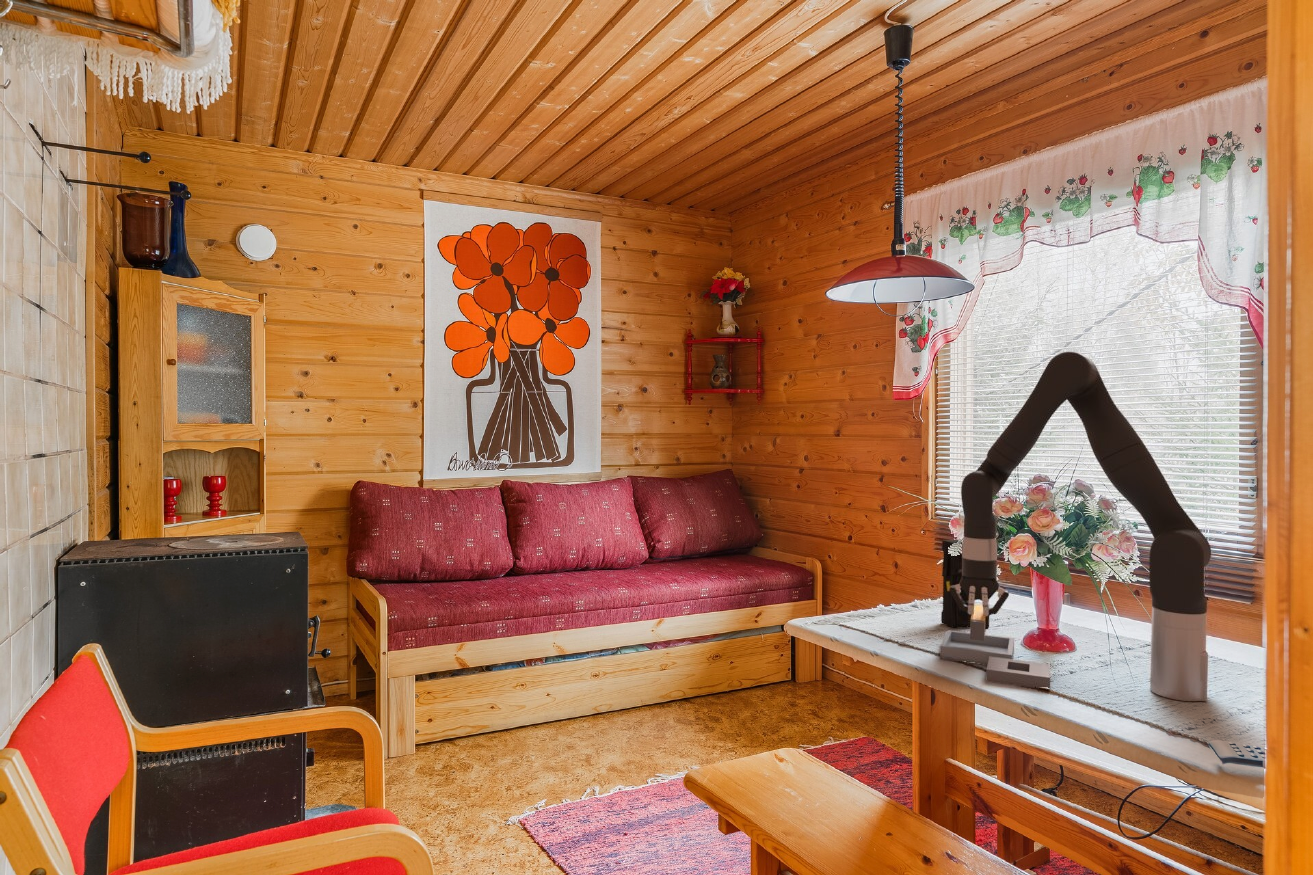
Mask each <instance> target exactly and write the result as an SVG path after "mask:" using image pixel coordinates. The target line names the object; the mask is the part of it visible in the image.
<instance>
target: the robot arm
mask: <svg viewBox="0 0 1313 875" xmlns="http://www.w3.org/2000/svg"><path fill="white" fill-rule="evenodd" d="M1066 401H1067V402H1068V403H1069V405H1070V406H1071V407H1072V409H1073V410H1074V411H1075V412H1076V414H1077V415H1078V417H1079V419H1080V420H1081V423H1082V424H1083V428H1084V431H1085V433H1086V436H1087V440H1088V441H1089V445H1090V447H1091V450H1092V453H1093V454H1094V457H1095V459H1096V461H1097V463H1098V464H1099V466H1100V467H1101V469H1102V470H1103V472H1104V474H1105V476H1106V478H1107V479H1108V480H1109V481H1110V483H1111V484H1112V485H1113V487H1114V488H1115V489H1116V490H1117V491H1118V493H1119V494H1120V495H1121V496H1122V497H1124V499H1125V500H1126V501H1127V502H1128V503H1129V504H1130V505H1132V507H1133V508H1134V509H1135V510H1136V511H1137V512H1138V514H1140V516H1141V517H1142V519H1143V520H1144V521H1145V524H1146V525H1147V527H1148V529H1149V532H1150V533H1151V534H1152V537H1153V539H1154V540H1153V541H1152V542H1151V545H1150V548H1149V560H1148V562H1149V563H1148V566H1149V569H1148V570H1149V571H1148V572H1149V574H1148V576H1149V592H1150V596H1151V629H1150V630H1151V632H1150V633H1151V635H1150V637H1151V638H1150V671H1149V673H1150V675H1149V676H1150V678H1149V683H1150V684H1149V686H1150V687H1149V689H1150V691H1151V692H1152V693H1154V694H1155V695H1158V696H1161V697H1163V698H1166V699H1167V698H1168V699H1171V700H1176V701H1182V702H1198V701H1199V702H1208V682H1209V681H1208V680H1209V678H1208V674H1209V673H1208V671H1209V654H1208V652H1207V621H1208V620H1207V616H1208V612H1207V611H1208V600H1207V597H1206V594H1205V568H1206V566H1208V564H1209V562H1210V561H1211V557H1212V548H1211V544H1210V543H1209V541H1208V539H1207V538H1206V537H1205V535H1204V534H1203V532H1202V531H1201V530H1200V528H1199V527H1198V526H1197V525H1196V524H1195V523H1194V521H1193V520H1192V519H1191V517H1190V516H1189V515H1188V514H1187V512H1186V511H1185V510H1184V508H1183V507H1182V505H1181V504H1180V503H1179V501H1178V500H1177V498H1176V497H1175V495H1174V493H1173V490H1172V488H1170V486H1169V483H1168V482H1167V480H1166V478H1165V476H1164V474H1163V473H1162V471H1161V469H1160V467H1159V466H1158V464H1157V463H1156V460H1155V459H1154V458H1153V455H1152V454H1151V452H1150V451H1149V449H1148V447H1147V446H1146V445H1145V443H1144V442H1143V440H1142V439H1141V437H1140V436H1139V434H1138V433H1137V431H1136V430H1135V429H1134V427H1133V426H1132V424H1131V423H1130V422H1129V420H1128V419H1127V418H1126V416H1124V414H1123V413H1122V412H1121V410H1120V409H1119V408H1118V407H1117V405H1116V403H1115V402H1114V400H1113V398H1112V397H1111V395H1110V392H1109V390H1108V389H1107V387H1106V385H1105V383H1104V380H1103V378H1102V377H1101V374H1100V371H1099V369H1098V367H1097V365H1096V364H1095V362H1094V361H1093V360H1092V359H1090V358H1089V357H1088V356H1086V355H1084V354H1081V353H1080V352H1078V351H1077V352H1076V351H1063V352H1060V353H1058V354H1056V355H1054V356H1053V357H1052V358H1051V359H1050V360H1049V362H1047V365H1046V366H1045V368H1044V370H1043V372H1042V374H1041V376H1040V377H1039V379H1038V381H1037V383H1036V385H1035V387H1034V388H1033V390H1032V391H1031V393H1030V395H1029V397H1028V398H1027V400H1026V401H1025V403H1024V404H1023V406H1022V407H1021V408H1020V410H1019V411H1018V412H1017V414H1016V415H1015V416H1014V417H1013V419H1012V420H1011V421H1010V422H1009V424H1008V425H1007V427H1006V428H1005V429H1004V430H1003V432H1002V433H1001V434H1000V435H999V437H998V438H996V440H995V442H993V444H992V445H991V446H990V448H989V450H988V452H987V454H986V457H985V459H984V460H983V462H982V463H981V464H980V465H979V467H978V468H977V469H975V471H972V472H969V473H968V474H966V475H965V476H964V478H963V479H962V482H961V488H960V496H961V504H962V512H963V517H964V519H963V539H962V540H963V546H962V578H961V580H960V583H959V584H957V585H952V586H951V587H950V589H949V591H950V592H951V594H952V596H953V598H954V600H955V601H956V603H957V605H958V607H959V608H960V610H961V611H965V612H967V613H968V626H969V627H968V628H969V629H970V620H971V615H972V614H974V606H975V605H976V604H975V603H976V601H977V600H978V601H982V606H983V615H984V616H985V633H986V631H987V630H989V628H990V616H991V615H997V613H999V611H1000V610H1001V608H1002V607H1003V605H1004V604H1005V602H1006V601H1007V599H1008V598H1009V596H1010V591H1009V590H1007V589H1004V588H1002V587H1001V586H1000V583H999V582H998V580H997V578H998V572H997V571H998V570H997V569H998V543H997V518H996V515H995V514H994V511H993V509H994V508H993V506H994V503H993V498H994V497H996V495H998V493H999V492H1000V491H1001V489H1002V488H1003V487H1004V486H1005V484H1006V483H1007V481H1008V479H1009V477H1010V476H1011V474H1012V473H1013V472H1014V470H1016V468H1018V466H1019V465H1020V464H1021V463H1022V462H1023V460H1024V459H1026V458H1025V457H1026V456H1027V455H1028V454H1029V453H1030V451H1031V450H1032V449H1033V447H1034V446H1035V445H1036V443H1037V442H1038V439H1039V438H1040V436H1041V434H1042V433H1043V431H1044V428H1045V427H1046V425H1047V423H1048V422H1049V421H1050V419H1051V418H1052V416H1053V415H1054V413H1055V412H1056V411H1057V410H1058V409H1059V408H1060V407H1061V406H1062V405H1063V403H1065V402H1066ZM960 588H962V589H963V591H964V592H965V593H966V595H967V596H968V597H969V602H968V606H967V605H965V603H964V601H963V599H962V598H961V596H960V592H961V590H960ZM996 592H997V598H998V600H997V601H996V602H995V604H994V605H993V607H990V599H991V598H992V597H993V596H994V594H996Z"/></svg>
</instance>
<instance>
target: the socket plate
mask: <svg viewBox="0 0 1313 875" xmlns="http://www.w3.org/2000/svg"><path fill="white" fill-rule="evenodd" d="M1050 664H1051V663H1045V662H1036V661H1029V660H1028V661H1027V660H1020V659H1014V658H1013V659H1006V658H998V657H991V656H989V661H988V665H986V682H991V683H997V684H1005V685H1013V686H1020V687H1026V688H1032V689H1033V688H1034V689H1039V688H1038V687H1048V688H1050V689H1051V665H1050ZM1035 687H1036V688H1035Z"/></svg>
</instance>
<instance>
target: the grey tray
mask: <svg viewBox="0 0 1313 875" xmlns="http://www.w3.org/2000/svg"><path fill="white" fill-rule="evenodd" d="M939 649H940V650H939V651H940V652H939V656H940V657H939V659H940V660H943V661H944V660H945V661H953V662H959V661H966V662H975V663H980V664H979V665H981V664H984V666H987V665H988V661H989V656H991V657H998V658H1006V659H1014V653H1015V637H1011V636H1010V637H1008V636H1003V635H1002V636H1001V635H992V634H985V639H984V641H981V640H973V639H970V632H965V631H958V630H957V631H956V630H946V632H945V634H944V637H943V640H942V642H941V644H940V646H939ZM966 662H965V663H966Z"/></svg>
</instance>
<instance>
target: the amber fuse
mask: <svg viewBox="0 0 1313 875" xmlns="http://www.w3.org/2000/svg"><path fill="white" fill-rule="evenodd" d="M969 633H970V639H973V640H981V641H984V639H985V635H986V632H985V616H984V615H983V605H978V604H975V606H974V614H972V615H971V620H970V628H969Z"/></svg>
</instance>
